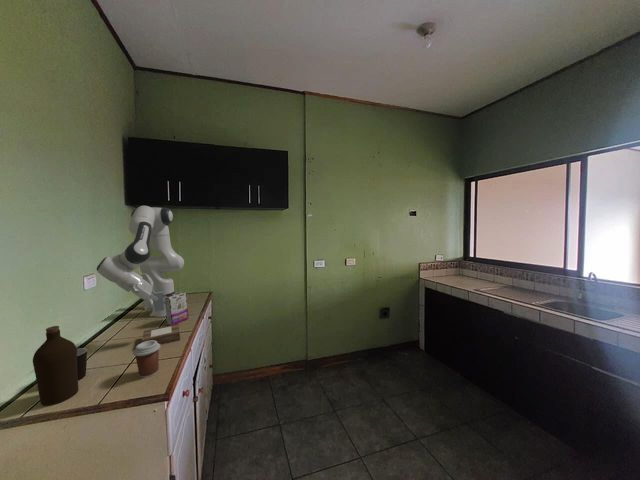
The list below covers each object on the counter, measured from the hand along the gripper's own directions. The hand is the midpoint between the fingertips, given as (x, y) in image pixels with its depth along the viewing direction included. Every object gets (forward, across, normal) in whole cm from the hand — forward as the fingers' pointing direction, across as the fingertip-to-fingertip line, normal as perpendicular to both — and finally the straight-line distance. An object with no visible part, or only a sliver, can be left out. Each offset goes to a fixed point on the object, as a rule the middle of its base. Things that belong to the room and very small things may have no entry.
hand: (157, 298), depth 131 cm
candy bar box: (+21, +23, +9) cm, 33 cm away
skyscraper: (+10, +65, +21) cm, 69 cm away
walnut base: (+16, 0, +15) cm, 22 cm away
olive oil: (-5, -32, +36) cm, 49 cm away
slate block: (+4, 0, +4) cm, 6 cm away
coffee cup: (+13, -33, +18) cm, 40 cm away
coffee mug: (-5, -19, +36) cm, 41 cm away
